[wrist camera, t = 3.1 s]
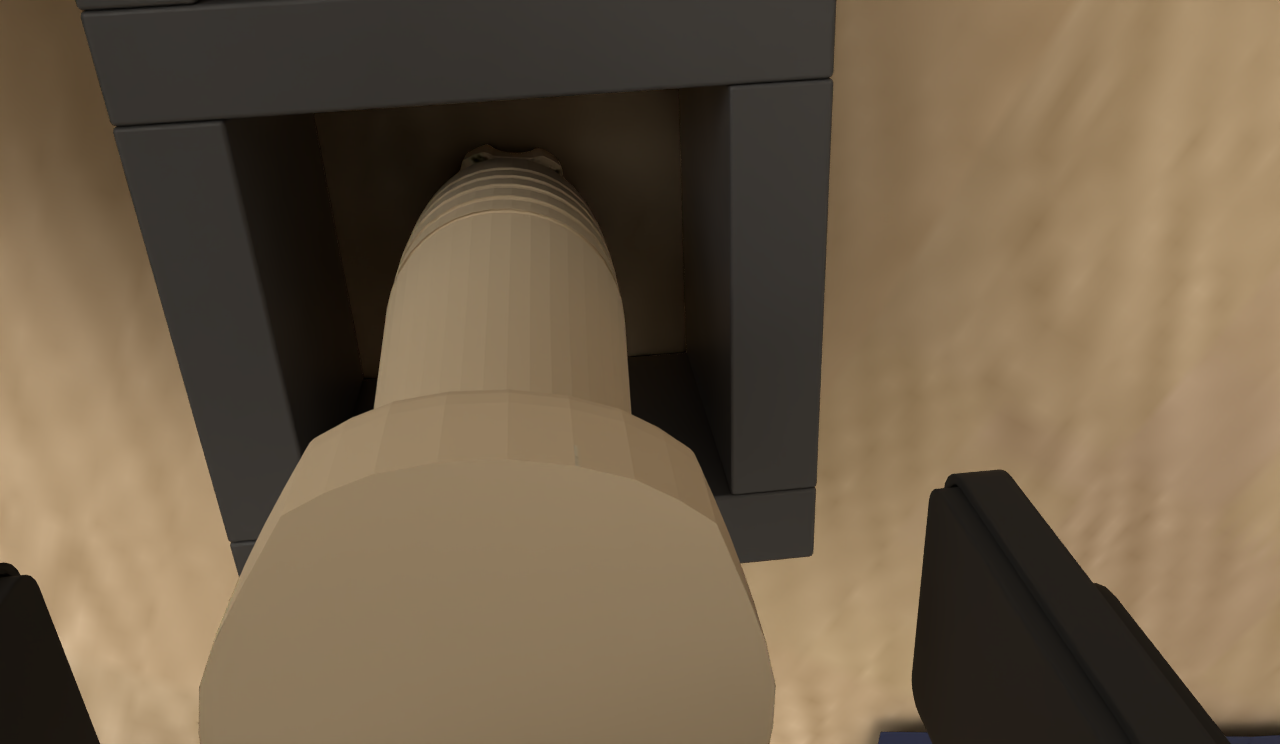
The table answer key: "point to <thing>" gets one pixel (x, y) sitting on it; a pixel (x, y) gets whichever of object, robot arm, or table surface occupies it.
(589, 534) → the handle
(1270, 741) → the navy flat block
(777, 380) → the holder
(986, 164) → the table surface
